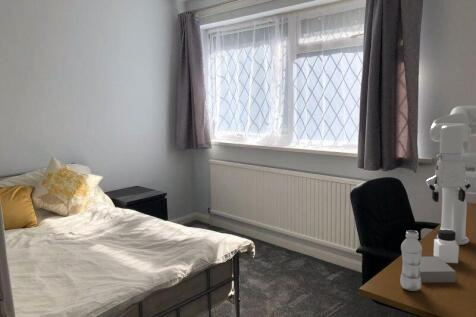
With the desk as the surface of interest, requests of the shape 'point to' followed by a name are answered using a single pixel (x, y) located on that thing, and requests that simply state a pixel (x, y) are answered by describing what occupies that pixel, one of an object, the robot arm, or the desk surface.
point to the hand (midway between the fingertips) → (448, 201)
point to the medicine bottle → (446, 246)
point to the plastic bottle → (411, 262)
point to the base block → (435, 270)
